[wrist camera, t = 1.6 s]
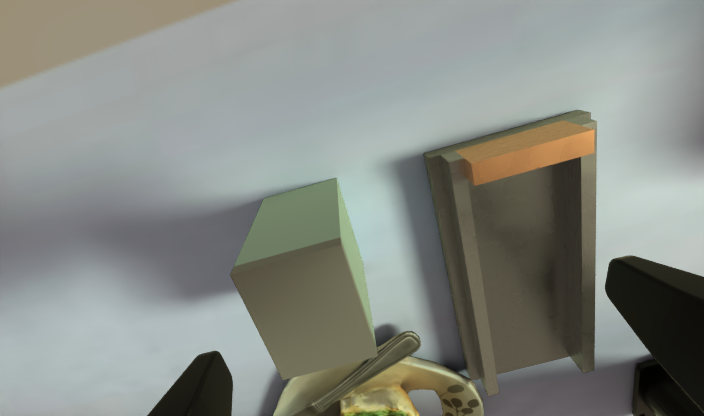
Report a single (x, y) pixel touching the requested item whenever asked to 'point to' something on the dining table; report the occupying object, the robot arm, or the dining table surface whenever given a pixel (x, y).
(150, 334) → the dining table surface
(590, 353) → the rail
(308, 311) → the module
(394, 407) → the salad plate
